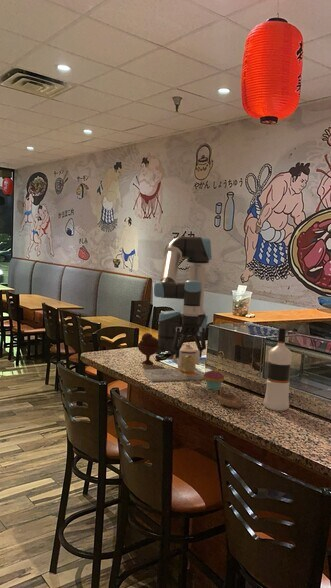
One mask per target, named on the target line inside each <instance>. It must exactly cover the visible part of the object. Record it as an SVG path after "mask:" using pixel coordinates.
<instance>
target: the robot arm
mask: <svg viewBox="0 0 331 588" xmlns="http://www.w3.org/2000/svg"><path fill="white" fill-rule="evenodd" d="M211 244H212V242H211V239H210V238H208V237H203V236H202V237H201V236H178V237H175V238H173V239H172V240H170V241H169V242H168V243H167V245H166V246H165V248H164V251H163V257H164V261H163V265H162V271H161V275H160V280H159V281H158V280H157V281H155V282H154V287H153V295H154V297H155V298H162V299H178V300H183V307H182V313H181V311H180V310H165V311H162V312H160V313H159V316H158V330H157V338H156V339H157V340H158V343H159V345H160V346H159V349H158V351H157V352H156V353H155V354H158V353H161V352H165V351H170V352H171V355H170V356H174V355H175V357H176V358H175V359H176V362H177V364H176V365H177V366H178V365H179V366H180V364H181V351H180V349H181V348H183V347H182V346H183V345H184V342H185V341H186V339H187V337H190V336H192V337H193V339H194V341H195V344H196V347H197V348H196V360H195V364H196V366H199V365H200V359H201V358H202V353H203V351H204V350H206V349H207V344H206V336H205V332H206V329H207V324H208V315H206V311H205V310H204V298H205V297H204V296H205V295H204V294H205V281H206V268H207V266H208V264H209V262H210V261H211V260H212V259H213V257H212V245H211ZM182 259H186V261H187V263H188V265H189V269H188V270H189V272H188V280H185V282H177V278H178V271H179V264H180V260H182ZM199 337H200V339H199ZM158 355H159V354H158Z"/></svg>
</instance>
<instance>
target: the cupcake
mask: <svg viewBox="0 0 331 588" xmlns="http://www.w3.org/2000/svg"><path fill="white" fill-rule="evenodd" d="M220 363H221V359H219V360H218V363H217V367H216V370H210V371H207V372H205V373H203V374H204V377H203V378H204V379H203V380H205V382H206V385H207V388H208V389H210V390H218V389H219V388H221V384H222V382H224V381H225V376H224V374H223V373H222V372H220V371H219V369H220Z"/></svg>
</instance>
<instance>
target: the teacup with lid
mask: <svg viewBox="0 0 331 588" xmlns="http://www.w3.org/2000/svg"><path fill="white" fill-rule="evenodd" d="M196 350H197V348H194V347H192V346H191V344H189V343H187V344H185V346H183V347H181V349H180V351H181V364H180V366H179V365H177V358H176V357H175V355H173V357H172V358H173V362H174V363H175V364H176V365H177V368H181V366H182V356H186V355H190V356H193V357H194V358H195V360H196ZM196 367H197V364H194V368H195V369H196Z"/></svg>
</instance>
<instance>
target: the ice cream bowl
mask: <svg viewBox="0 0 331 588" xmlns="http://www.w3.org/2000/svg"><path fill="white" fill-rule="evenodd" d="M157 339H158V338H156V337H155V336H153V335H152V334H151V333H149V332H146V333H143V335H142V336H141V340H140V341H139V343H137V349H138V351H139V352H140V353H141V354H143V355H144V356H145V360H143V361H142V362H141V364H142V365H144V366H145V365H147V366H152V365H154V362H153V361H152V360H151V358H150V357H152V356H153V355H155V354H157V353H156V352H157V351H158V349H159V346H160V345H159V343H158V340H157Z"/></svg>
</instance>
